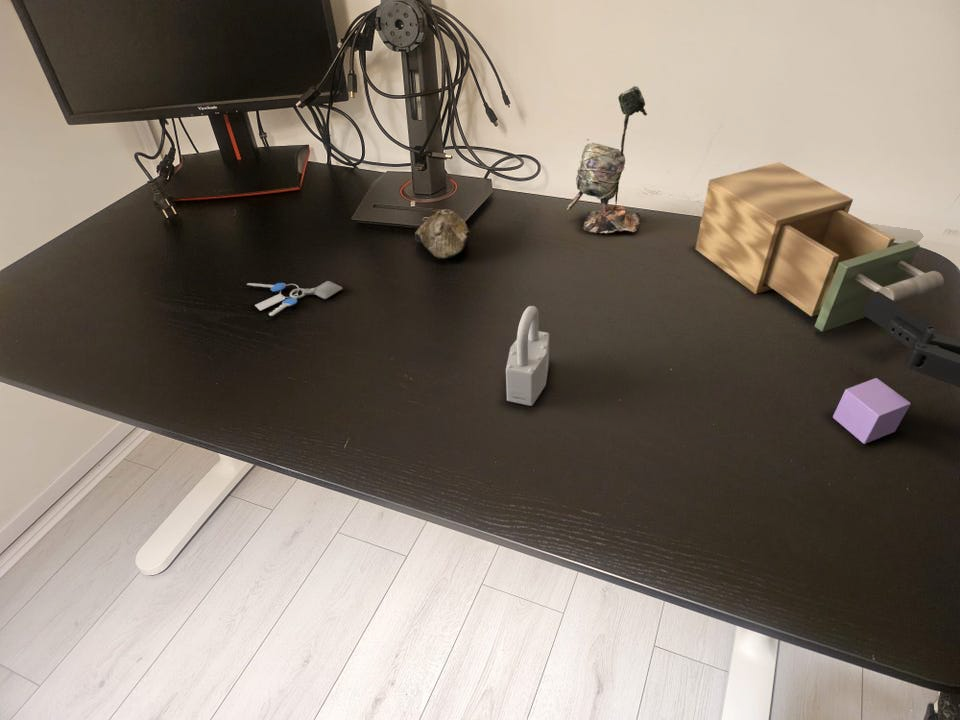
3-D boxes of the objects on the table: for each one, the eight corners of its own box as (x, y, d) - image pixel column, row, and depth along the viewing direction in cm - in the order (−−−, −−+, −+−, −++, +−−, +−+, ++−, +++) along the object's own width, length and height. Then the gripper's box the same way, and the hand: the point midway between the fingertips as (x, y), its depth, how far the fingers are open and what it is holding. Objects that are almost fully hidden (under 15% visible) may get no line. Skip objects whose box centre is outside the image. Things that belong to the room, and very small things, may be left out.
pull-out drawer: (926, 332, 70) (962, 266, 65) (856, 357, 68) (886, 291, 62) (817, 263, 82) (839, 202, 76) (754, 282, 80) (771, 221, 74)
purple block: (862, 405, 64) (876, 377, 61) (895, 431, 61) (911, 403, 58) (832, 417, 63) (845, 389, 60) (864, 444, 60) (879, 416, 57)
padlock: (520, 360, 72) (518, 289, 65) (553, 366, 71) (555, 295, 64) (501, 401, 67) (498, 329, 60) (537, 408, 66) (537, 336, 59)
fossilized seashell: (482, 243, 88) (465, 222, 96) (454, 209, 84) (439, 190, 93) (443, 277, 89) (429, 253, 97) (413, 244, 85) (402, 223, 94)
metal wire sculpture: (579, 206, 100) (586, 76, 87) (647, 218, 96) (666, 84, 82) (560, 228, 95) (564, 95, 82) (632, 243, 90) (649, 104, 77)
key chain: (345, 283, 86) (344, 278, 86) (333, 318, 80) (331, 313, 80) (249, 285, 87) (247, 280, 87) (229, 320, 81) (227, 315, 80)
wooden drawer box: (826, 272, 82) (853, 199, 75) (755, 294, 79) (777, 220, 72) (760, 230, 91) (779, 161, 84) (695, 249, 88) (709, 179, 81)
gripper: (1017, 501, 48) (814, 346, 64) (1218, 407, 54) (989, 285, 70) (1072, 438, 43) (838, 286, 59) (1286, 342, 49) (1024, 226, 65)
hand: (919, 285), depth 64 cm, fingers open, 13 cm apart
